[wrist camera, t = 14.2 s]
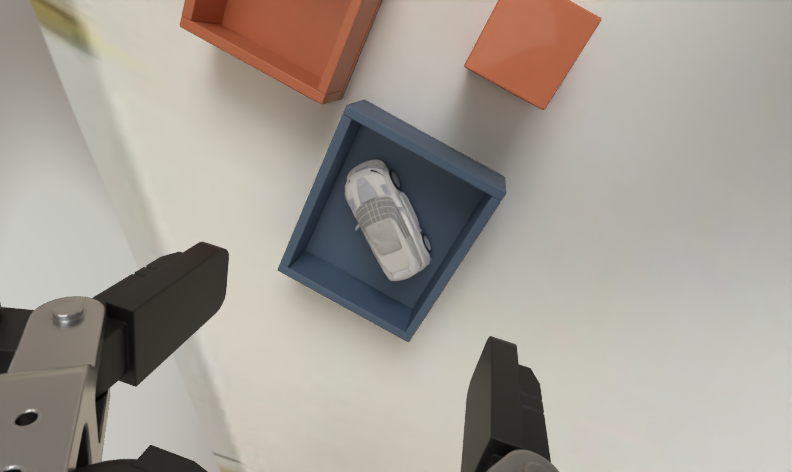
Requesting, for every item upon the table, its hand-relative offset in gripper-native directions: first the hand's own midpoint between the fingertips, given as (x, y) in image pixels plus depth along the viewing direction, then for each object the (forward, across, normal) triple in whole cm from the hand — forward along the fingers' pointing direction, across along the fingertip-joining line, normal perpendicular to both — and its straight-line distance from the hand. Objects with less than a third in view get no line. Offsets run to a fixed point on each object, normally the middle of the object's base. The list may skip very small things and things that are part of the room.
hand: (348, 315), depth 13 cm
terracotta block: (+17, -3, -8) cm, 19 cm away
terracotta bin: (+17, +10, -8) cm, 22 cm away
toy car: (+17, +2, +3) cm, 17 cm away
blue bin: (+17, +2, +4) cm, 18 cm away
